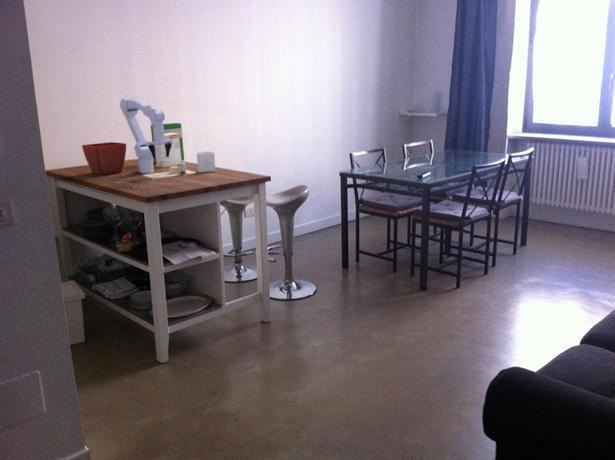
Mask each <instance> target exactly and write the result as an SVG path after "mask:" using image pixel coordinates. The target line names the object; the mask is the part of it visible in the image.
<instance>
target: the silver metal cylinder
mask: <svg viewBox="0 0 615 460" xmlns="http://www.w3.org/2000/svg"><path fill="white" fill-rule="evenodd" d="M179 165H180V173H181V174H186V171H185V166H186V163H185V162H182V163H180V164H179Z"/></svg>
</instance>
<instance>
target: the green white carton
mask: <svg viewBox="0 0 615 460" xmlns="http://www.w3.org/2000/svg"><path fill="white" fill-rule="evenodd" d="M163 128H164V134H168V133H179V141H180V151H181V161H185V152H184V142H183V141H184V140H183V130H182V123H181V122H180V123H179V122H173V123H172V122H171V123H163ZM150 131H151V132H150V133H151V142H153V141H154V135H153V125H152V124H150ZM154 147H155V145H154ZM155 156H156V154H155ZM153 163H156V159H153Z"/></svg>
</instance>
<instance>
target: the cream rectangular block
mask: <svg viewBox="0 0 615 460" xmlns="http://www.w3.org/2000/svg"><path fill="white" fill-rule="evenodd" d="M186 170H187V166H186V165H185V171H186ZM168 171H170V173H172V174H177V173H180V164H179V165H174V166H169V170H168Z"/></svg>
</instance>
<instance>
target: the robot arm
mask: <svg viewBox="0 0 615 460" xmlns="http://www.w3.org/2000/svg"><path fill="white" fill-rule="evenodd" d="M119 107H120V108H119V109H120V110H121V112H122V114H123V115H124V117H125V120H126V122H127V125H128V127H129V129H130V131H131V133H132V136H133V138H134V140H135V145H134V151H135V155H136V157H137V159H138V161H137V163H138V170H139V171H138V173H141V174H152V173H155V171H154V159H156V156H155V147H154V145H162V144H165V149H166V157H169V152H170V149H171V146H172V144H173V140H165V139H164V128H163V124H164V123H163V122H164V120H165V113H164V111H163V110H158V109H156V108H154V107H152V105H150V104H149V105H145V104H144V103H142V102H141V100H140V99H139V98H137V97H133V98H129V97H128V98H121V100H120V102H119ZM139 110H140V111H141V112H142V114H143V115H144V116H146V118H147V117H148V118H149V121H150V125H153V135H154V141H153V142H152V141H148V140H147V139H146V138H145V135H144V133H143V131H142V129H141V127H140V124H139V122H138V120H137V117H136V115H137V114H138V113H139ZM157 143H162V144H157Z"/></svg>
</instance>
